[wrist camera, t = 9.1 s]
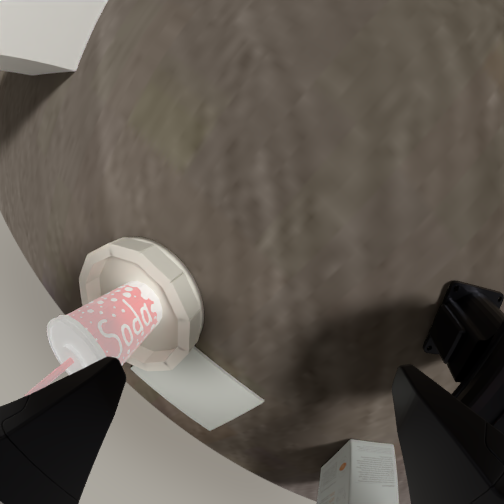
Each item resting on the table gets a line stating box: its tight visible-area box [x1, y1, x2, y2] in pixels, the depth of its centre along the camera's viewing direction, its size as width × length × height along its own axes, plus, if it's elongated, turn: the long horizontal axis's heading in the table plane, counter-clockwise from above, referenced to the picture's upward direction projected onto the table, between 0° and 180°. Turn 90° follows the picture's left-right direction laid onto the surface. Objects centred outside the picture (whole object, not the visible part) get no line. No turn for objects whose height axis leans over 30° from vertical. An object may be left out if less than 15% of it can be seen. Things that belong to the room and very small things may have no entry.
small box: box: [317, 439, 399, 504], centre depth 18 cm, size 8×6×13 cm
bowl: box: [79, 237, 204, 371], centre depth 22 cm, size 12×12×3 cm
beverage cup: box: [24, 281, 162, 396], centre depth 16 cm, size 6×6×14 cm
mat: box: [131, 346, 264, 431], centre depth 26 cm, size 12×10×1 cm
